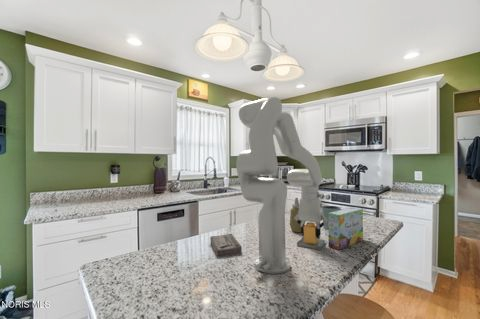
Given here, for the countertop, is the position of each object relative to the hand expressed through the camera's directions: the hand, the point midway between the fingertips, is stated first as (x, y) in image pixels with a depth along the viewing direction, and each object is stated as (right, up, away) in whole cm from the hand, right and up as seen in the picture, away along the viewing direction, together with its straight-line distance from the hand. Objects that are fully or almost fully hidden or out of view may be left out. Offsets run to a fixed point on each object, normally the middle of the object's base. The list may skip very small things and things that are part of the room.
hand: (310, 235), depth 104 cm
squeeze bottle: (-1, -5, +21) cm, 21 cm away
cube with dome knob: (0, -3, 0) cm, 3 cm away
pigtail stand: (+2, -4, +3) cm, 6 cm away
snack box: (+17, -4, 0) cm, 17 cm away
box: (-39, -5, -2) cm, 39 cm away
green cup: (+19, -4, +25) cm, 31 cm away
